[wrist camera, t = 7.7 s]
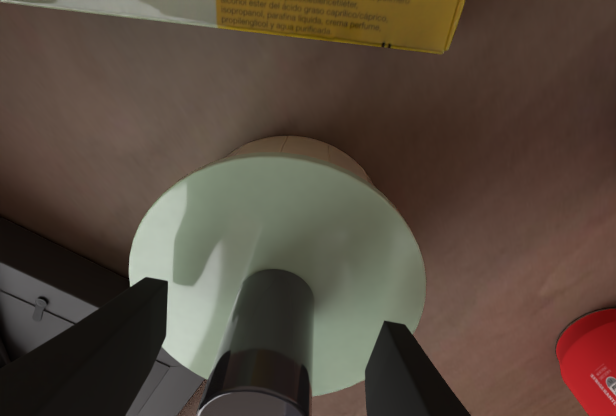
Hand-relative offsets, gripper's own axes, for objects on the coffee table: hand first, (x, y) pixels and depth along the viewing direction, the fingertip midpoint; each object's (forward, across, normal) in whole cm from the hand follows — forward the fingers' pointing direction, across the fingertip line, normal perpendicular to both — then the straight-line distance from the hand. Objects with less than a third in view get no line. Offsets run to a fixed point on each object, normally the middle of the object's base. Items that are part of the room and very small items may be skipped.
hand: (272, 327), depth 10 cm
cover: (+2, 0, 0) cm, 2 cm away
